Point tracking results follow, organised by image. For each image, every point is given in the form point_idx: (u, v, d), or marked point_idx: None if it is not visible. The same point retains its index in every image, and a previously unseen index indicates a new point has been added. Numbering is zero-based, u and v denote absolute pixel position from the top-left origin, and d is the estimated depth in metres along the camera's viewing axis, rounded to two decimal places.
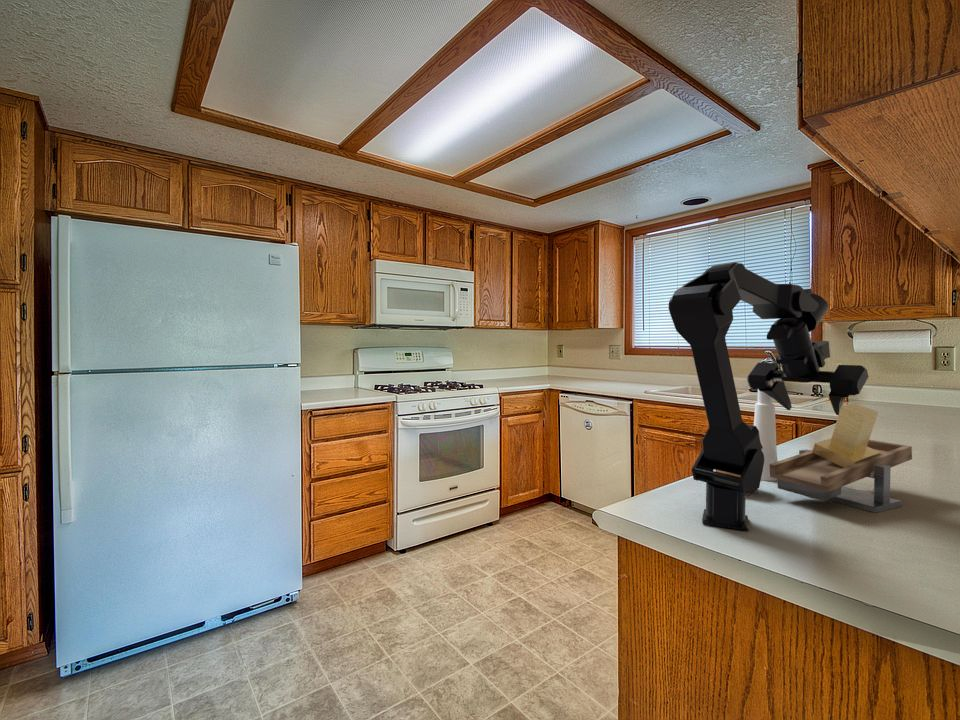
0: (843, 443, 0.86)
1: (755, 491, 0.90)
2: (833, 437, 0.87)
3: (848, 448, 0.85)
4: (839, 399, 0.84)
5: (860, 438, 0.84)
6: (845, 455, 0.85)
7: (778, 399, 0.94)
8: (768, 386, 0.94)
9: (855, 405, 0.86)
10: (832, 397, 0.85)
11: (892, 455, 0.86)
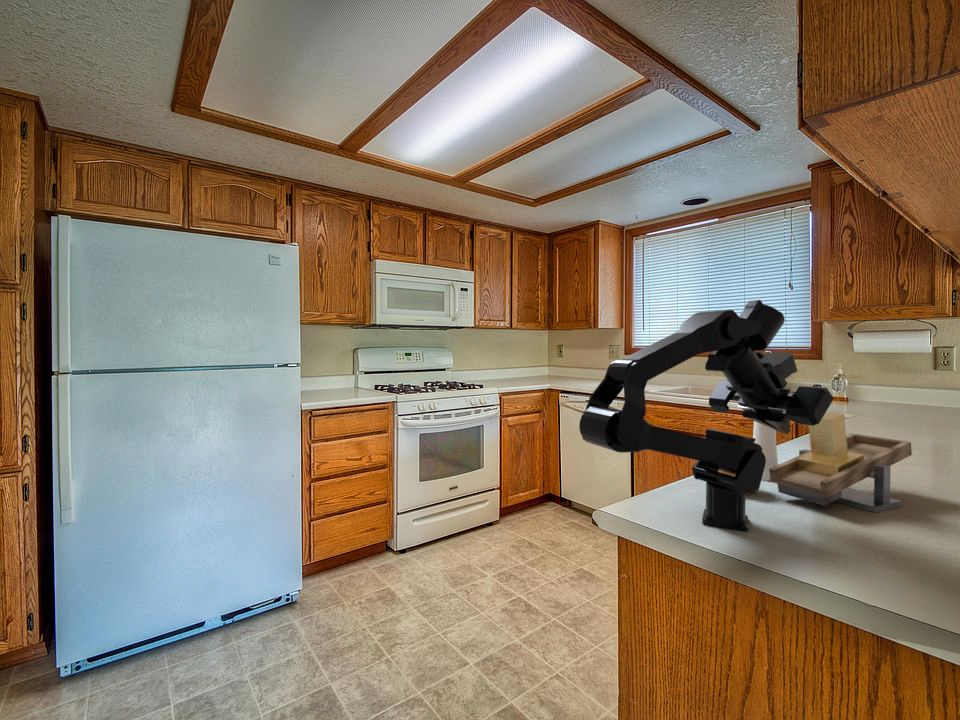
0: (823, 452, 0.86)
1: (755, 491, 0.90)
2: (812, 448, 0.87)
3: (829, 456, 0.85)
4: (776, 423, 0.77)
5: (836, 443, 0.84)
6: (828, 463, 0.84)
7: (767, 425, 0.80)
8: (752, 412, 0.80)
9: None
10: (769, 421, 0.78)
11: (892, 453, 0.86)
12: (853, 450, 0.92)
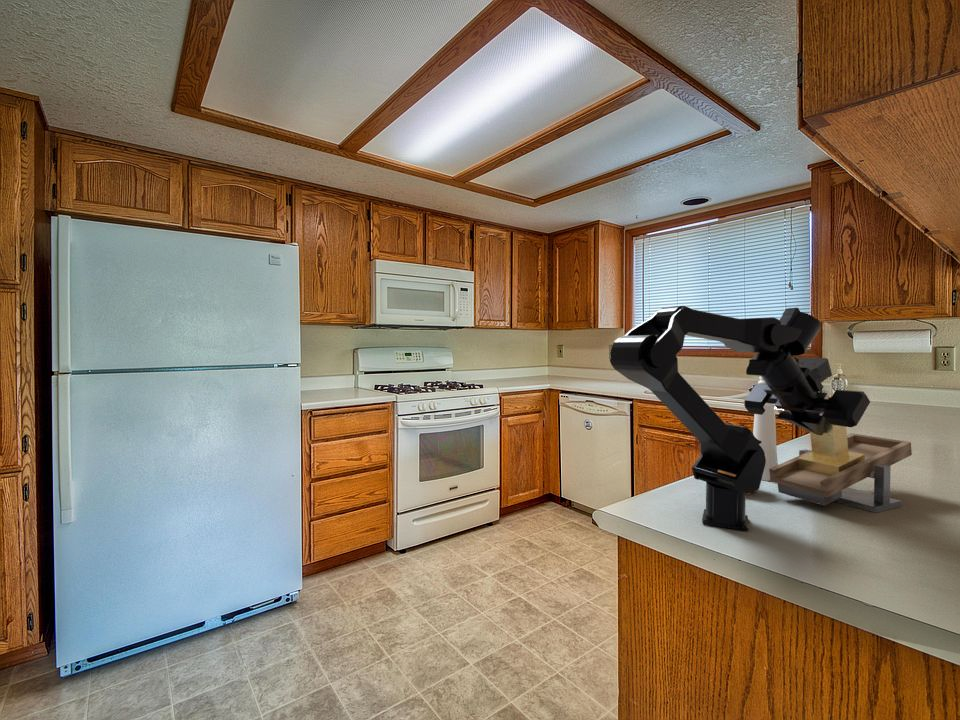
0: (823, 452, 0.86)
1: (755, 491, 0.90)
2: (813, 448, 0.87)
3: (830, 455, 0.85)
4: (813, 425, 0.81)
5: (836, 443, 0.84)
6: (829, 463, 0.84)
7: (802, 426, 0.84)
8: (788, 414, 0.84)
9: None
10: (805, 423, 0.82)
11: (892, 453, 0.86)
12: (853, 450, 0.92)
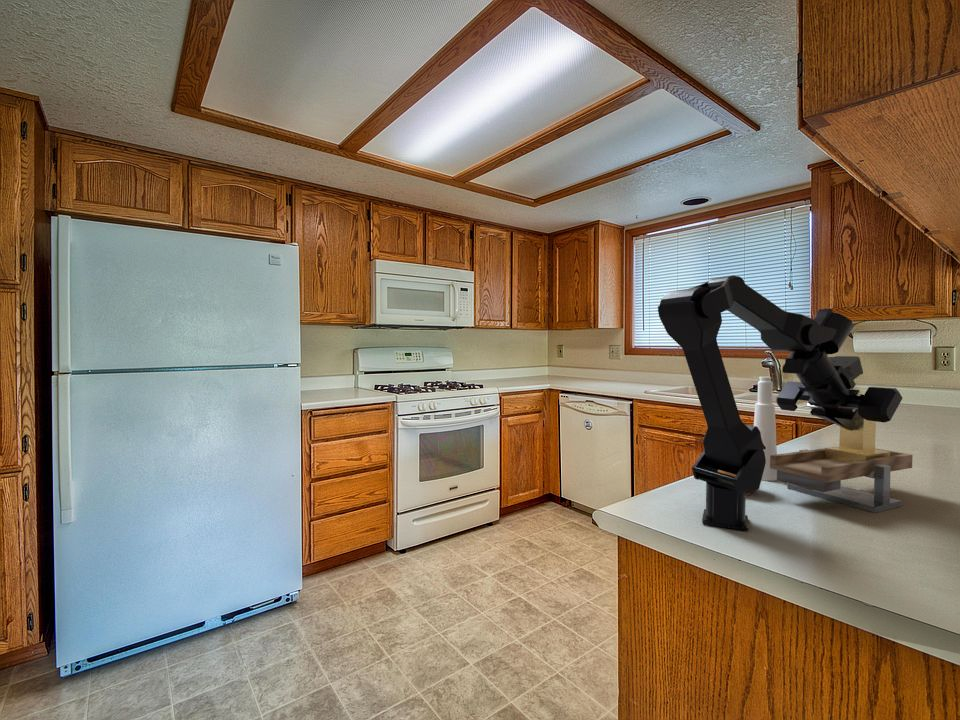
0: (851, 443, 0.89)
1: (755, 491, 0.90)
2: (841, 440, 0.91)
3: (857, 446, 0.88)
4: (845, 420, 0.85)
5: (865, 435, 0.88)
6: (856, 452, 0.88)
7: (834, 422, 0.88)
8: (821, 410, 0.88)
9: None
10: (838, 419, 0.85)
11: (893, 460, 0.86)
12: None
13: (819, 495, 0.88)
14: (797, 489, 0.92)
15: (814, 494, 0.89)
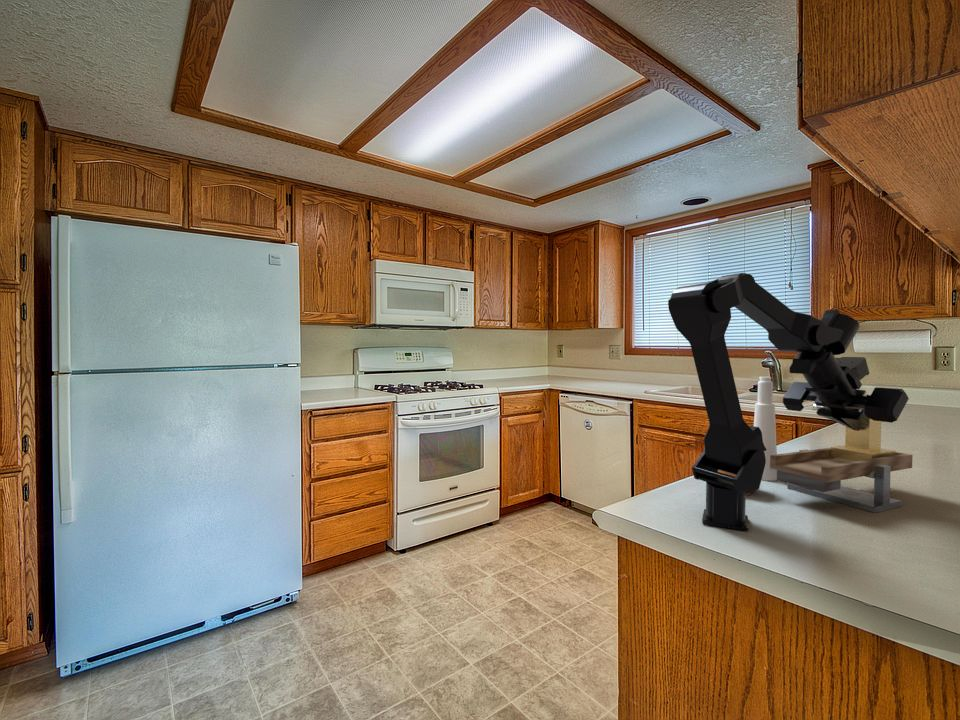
0: (857, 442, 0.90)
1: (755, 491, 0.90)
2: (846, 439, 0.92)
3: (863, 446, 0.89)
4: (852, 421, 0.85)
5: (871, 434, 0.89)
6: (862, 452, 0.88)
7: (840, 422, 0.89)
8: (827, 410, 0.89)
9: None
10: (844, 419, 0.86)
11: (893, 460, 0.86)
12: None
13: (819, 495, 0.88)
14: (797, 489, 0.92)
15: (814, 494, 0.89)
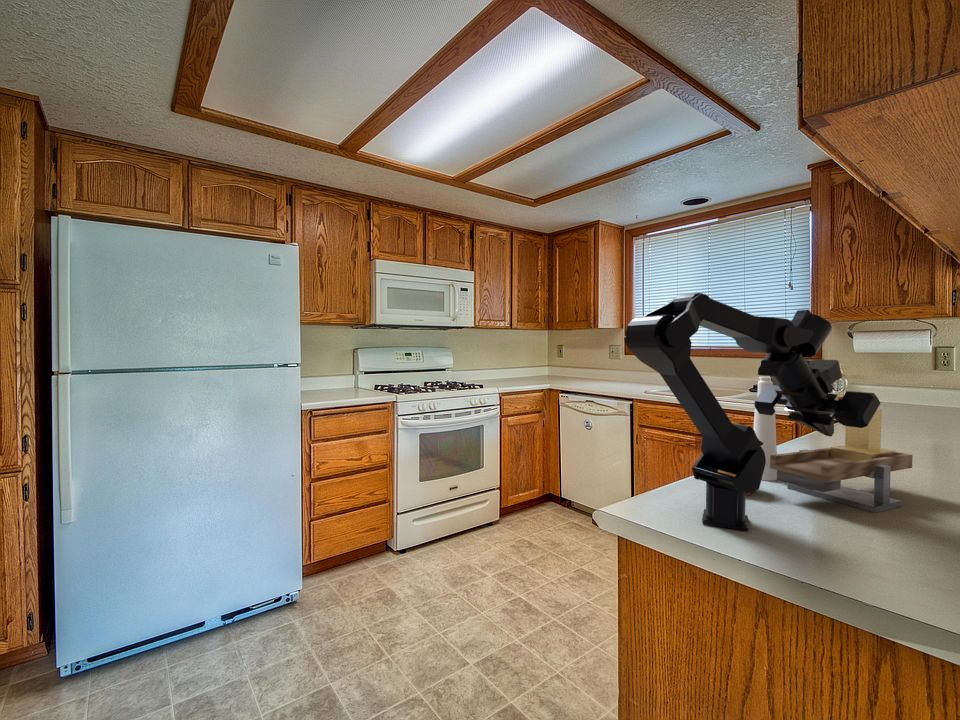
0: (857, 442, 0.90)
1: (755, 491, 0.90)
2: (846, 439, 0.92)
3: (863, 446, 0.89)
4: (823, 426, 0.82)
5: (871, 434, 0.89)
6: (862, 451, 0.88)
7: (812, 427, 0.85)
8: (798, 415, 0.85)
9: None
10: (816, 424, 0.83)
11: (893, 460, 0.86)
12: None
13: (819, 495, 0.88)
14: (797, 489, 0.92)
15: (814, 494, 0.89)
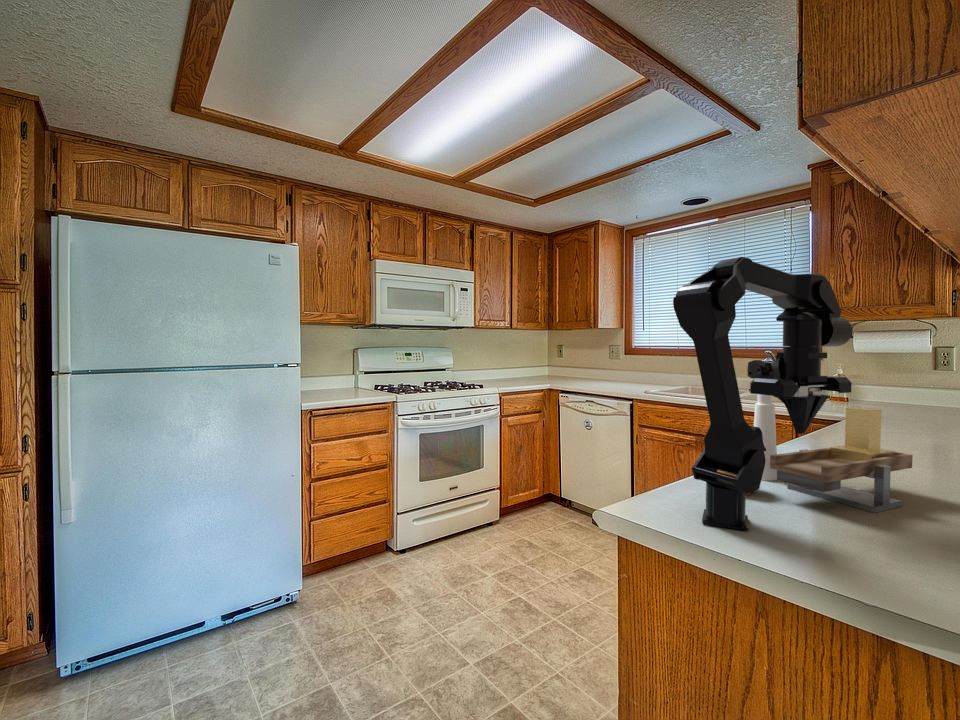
0: (856, 442, 0.90)
1: (755, 491, 0.90)
2: (846, 439, 0.92)
3: (863, 446, 0.89)
4: (824, 402, 0.82)
5: (871, 434, 0.89)
6: (861, 452, 0.88)
7: (809, 413, 0.81)
8: (806, 394, 0.81)
9: (859, 407, 0.92)
10: (821, 400, 0.81)
11: (893, 460, 0.86)
12: None
13: (819, 495, 0.88)
14: (797, 489, 0.92)
15: (814, 494, 0.89)
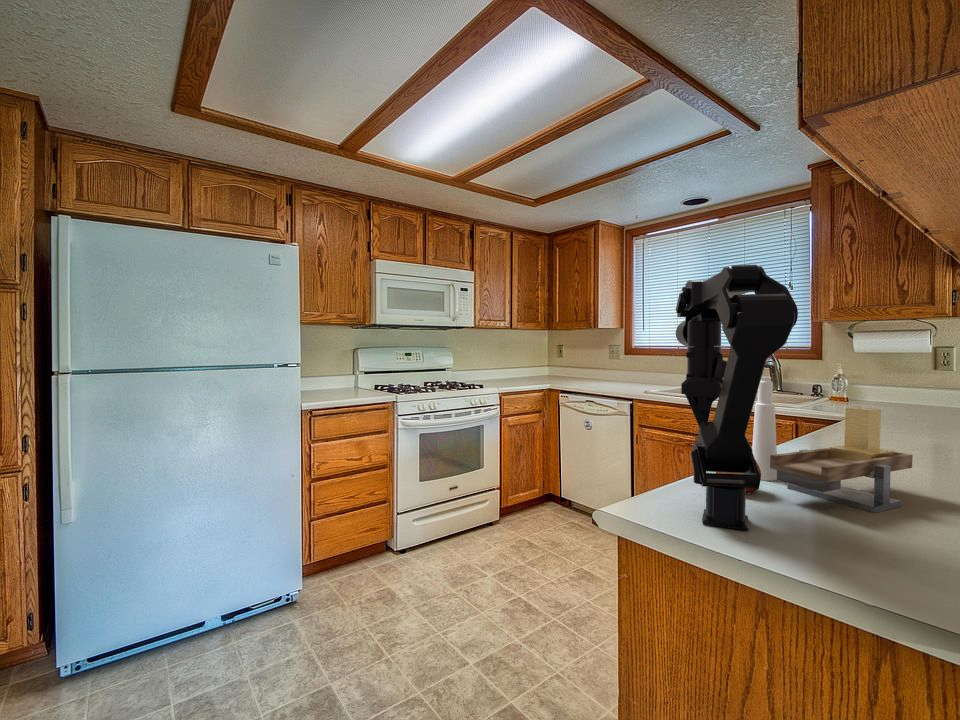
0: (856, 442, 0.90)
1: (755, 491, 0.90)
2: (846, 439, 0.92)
3: (862, 446, 0.89)
4: (687, 399, 0.87)
5: (870, 434, 0.89)
6: (861, 452, 0.88)
7: None
8: None
9: (858, 407, 0.92)
10: None
11: (893, 460, 0.86)
12: None
13: (819, 495, 0.88)
14: (797, 489, 0.92)
15: (814, 494, 0.89)
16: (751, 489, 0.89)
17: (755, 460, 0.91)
